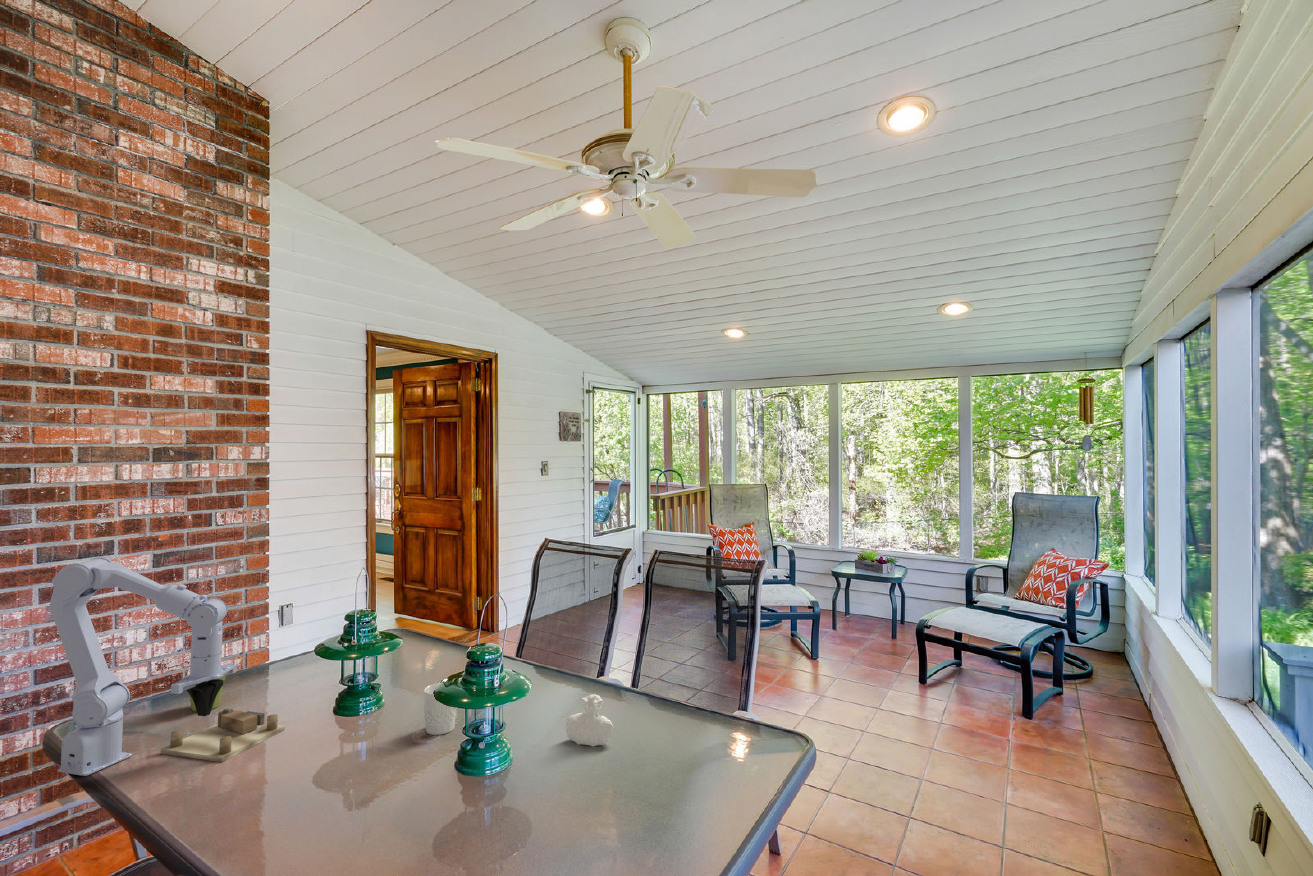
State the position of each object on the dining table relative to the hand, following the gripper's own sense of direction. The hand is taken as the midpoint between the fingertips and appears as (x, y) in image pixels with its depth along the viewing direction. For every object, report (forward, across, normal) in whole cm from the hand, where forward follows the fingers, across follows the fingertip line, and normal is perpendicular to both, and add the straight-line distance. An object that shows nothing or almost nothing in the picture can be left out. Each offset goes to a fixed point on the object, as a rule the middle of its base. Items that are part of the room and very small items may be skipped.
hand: (203, 715), depth 141 cm
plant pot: (+9, +21, +23) cm, 32 cm away
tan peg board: (+8, +6, 0) cm, 10 cm away
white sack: (+8, +25, -84) cm, 88 cm away
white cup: (+8, +23, -46) cm, 52 cm away
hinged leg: (+7, +10, +2) cm, 13 cm away
